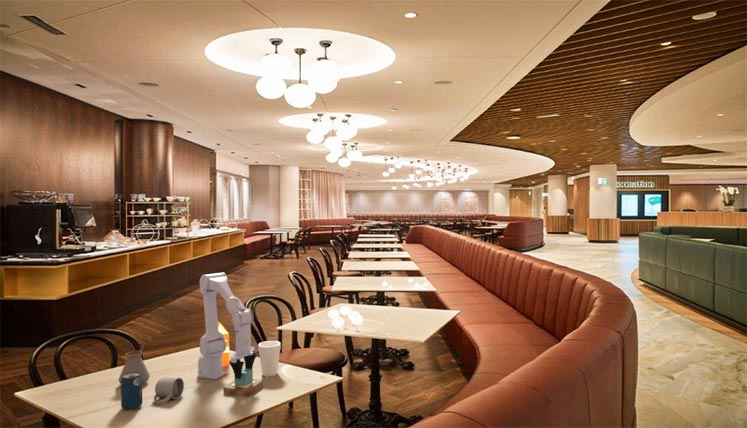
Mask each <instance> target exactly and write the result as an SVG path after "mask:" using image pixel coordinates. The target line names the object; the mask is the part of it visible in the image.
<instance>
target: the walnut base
mask: <svg viewBox="0 0 747 428" xmlns="http://www.w3.org/2000/svg"><path fill="white" fill-rule="evenodd" d="M263 387H264V380H262V379H254V378H253V382H251V383H250V384H248V385H247V386H241V385H235V379H234V380H232V381H231V382H230V383H229V384H227V385H225V386H223V394H224V395H233V396H237V397H251V396H252V395H253V394H255V393H256V392H257V391H259V390H260V389H262V388H263Z"/></svg>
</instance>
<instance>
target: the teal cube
mask: <svg viewBox="0 0 747 428" xmlns="http://www.w3.org/2000/svg"><path fill="white" fill-rule="evenodd" d="M253 373H254V370H253V368H252V369H247V368H245V367H243V368H242V376H241V379H236V378H235V377H234V380H235V385H241V386H247V385H248V384H250V383H251V382H253V379H254V378H253V377H254V376H253V375H254V374H253Z"/></svg>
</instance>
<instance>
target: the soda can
mask: <svg viewBox="0 0 747 428" xmlns="http://www.w3.org/2000/svg"><path fill="white" fill-rule="evenodd" d="M120 404H121V405H120V406H121V408H122V410H123V411H126V412H131V411H136V410H138V409H139V408H141V407H142V404H143V385H142V377H141V375H140V373H139V372H131V373H127V374H124V375H123V378H122V380H121V384H120Z"/></svg>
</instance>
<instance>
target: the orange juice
mask: <svg viewBox="0 0 747 428" xmlns="http://www.w3.org/2000/svg"><path fill="white" fill-rule="evenodd" d="M218 329H219V332H220V333H222V334H224V337H225V341H226V345H227V346H226V350H225V351H224V354H222V368H223V367H225V366H226V367H227V366H230V364H229V361H230V332H228V331H227V328H225V327H224V325H223V324H222V323H221V322H220V321H218ZM216 339H217V338H216ZM211 340H213V339H211Z"/></svg>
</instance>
